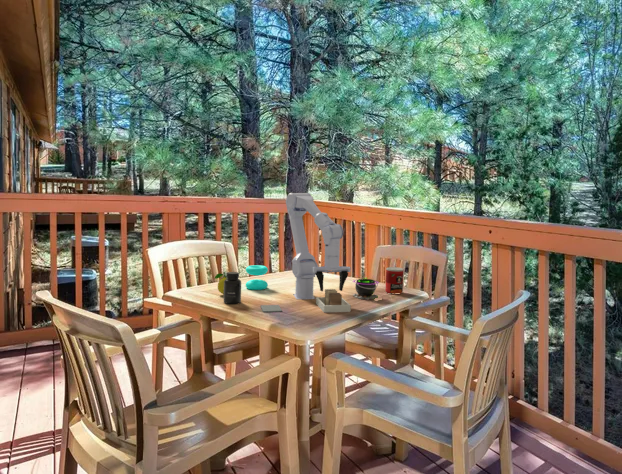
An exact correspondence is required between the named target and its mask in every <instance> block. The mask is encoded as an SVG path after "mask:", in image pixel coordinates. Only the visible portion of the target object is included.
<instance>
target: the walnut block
mask: <svg viewBox="0 0 622 474" xmlns="http://www.w3.org/2000/svg"><path fill="white" fill-rule="evenodd" d="M342 298H343V295H342V294H341V293H340V292H337V293H329V305H341V303H342Z"/></svg>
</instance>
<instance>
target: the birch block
mask: <svg viewBox="0 0 622 474" xmlns="http://www.w3.org/2000/svg"><path fill="white" fill-rule="evenodd" d="M329 293H338V290H337V289H335V288H332V289H331V288H330V289H329V288H328V289H327V288H326V289H324V297H325V305H329Z"/></svg>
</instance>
